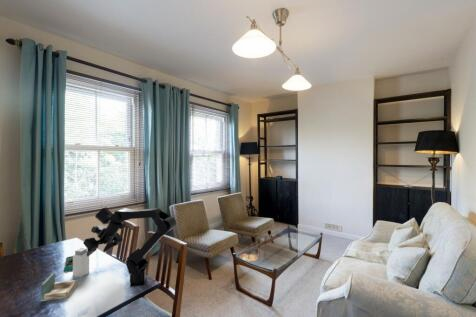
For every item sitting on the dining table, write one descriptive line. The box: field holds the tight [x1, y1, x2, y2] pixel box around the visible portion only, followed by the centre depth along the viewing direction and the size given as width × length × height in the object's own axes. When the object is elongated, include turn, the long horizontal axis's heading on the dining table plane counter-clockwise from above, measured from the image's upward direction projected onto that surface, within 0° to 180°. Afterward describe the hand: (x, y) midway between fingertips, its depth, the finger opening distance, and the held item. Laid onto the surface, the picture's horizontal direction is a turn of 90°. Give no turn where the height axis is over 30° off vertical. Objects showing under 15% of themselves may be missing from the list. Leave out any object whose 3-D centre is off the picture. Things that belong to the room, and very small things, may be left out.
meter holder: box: [40, 272, 78, 302], centre depth 106 cm, size 10×10×7 cm
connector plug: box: [72, 247, 90, 278], centre depth 122 cm, size 5×5×13 cm
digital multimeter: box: [63, 255, 73, 272], centre depth 132 cm, size 7×15×3 cm, turn 33°
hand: (95, 253), depth 120 cm, fingers open, 9 cm apart
